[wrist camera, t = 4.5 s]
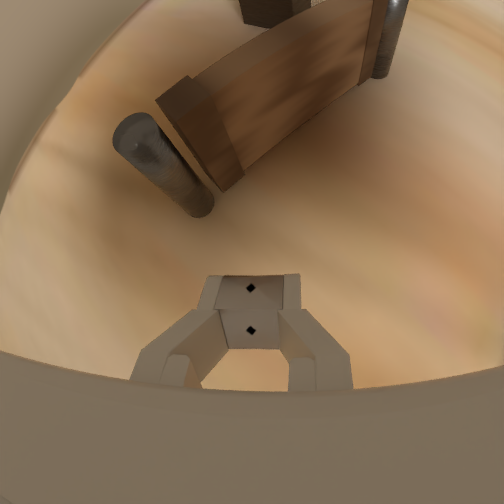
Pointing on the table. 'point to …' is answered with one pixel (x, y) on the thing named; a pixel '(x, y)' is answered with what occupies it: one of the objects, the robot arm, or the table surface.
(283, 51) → the brown wooden bar
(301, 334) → the robot arm
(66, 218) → the table surface
